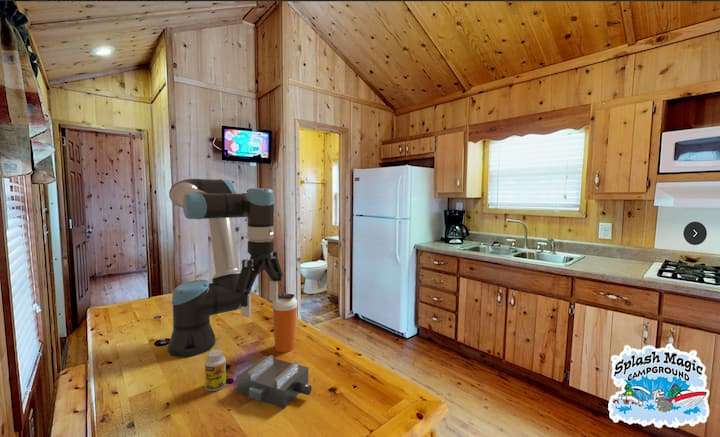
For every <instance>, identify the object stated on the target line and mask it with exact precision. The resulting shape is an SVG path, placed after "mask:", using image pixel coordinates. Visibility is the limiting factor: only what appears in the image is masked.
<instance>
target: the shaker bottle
mask: <svg viewBox="0 0 720 437" xmlns="http://www.w3.org/2000/svg"><path fill="white" fill-rule="evenodd" d="M295 296H296V295H295V294H293V293H284V292H283V291H281V292H278V301H271V308H272V315H273V316H272V319H273V320H272V321H273V336H274V337H273V338H274V350H275V351H276V352H277V353H288V352H291V351H293V350H294V349H295V347H296V346H295V345H296V329H297V328H296V327H297V325H296V324H297V308H298V300H297V298H296V297H295Z"/></svg>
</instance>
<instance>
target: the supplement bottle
mask: <svg viewBox="0 0 720 437" xmlns="http://www.w3.org/2000/svg"><path fill="white" fill-rule="evenodd" d="M226 362H227V360H226V357H225V356H224V352H223V350H222V349H213V350H210V351H209V352H208V353H207V358H206V359H205V361H204V380H205V381H204V387H205V389H206V390H207V391H209V392H215V391H219V390H221V389H222V388H224V387H225V386H226V384H227V368H226V367H227V366H226V365H227V363H226Z"/></svg>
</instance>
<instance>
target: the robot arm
mask: <svg viewBox="0 0 720 437" xmlns="http://www.w3.org/2000/svg"><path fill="white" fill-rule="evenodd" d="M168 197H169V200H170V201H171V203H173V204H174V205H175V206H177V207H179V208H181V209H182V211H183V212H182V213H183V214H184V217H185V218H186V219H188V220H205V219H208V223H209V233H210V240H211V247H212V254H213V263H214V271H215V274H214V276H213V277H212V278H211V281H212V282H211V283H210V282H209V281H208V280H206V279H196V280H191V281H188V282H187V281H186V282H183V283H182V284H180V285H178V286H176V287H175V288H174V289H173V290H172V297H171V298H172V299H171V305H172V327H173V328H172V329H173V330H172V332H171V335H170V340H169V342H168V344H167V349H168V350H167V352H168V354H169V355H171V356H173V357H178V358H179V357H181V358H186V357H192V356H196V355H201V354H203V353H205V352H208V351H209V350H210V349H211V350H212V348H213V347H215V345H216V335H215V333H214V331H213V328H212V325H211V324H210V317H211V316H214V315H218V314H223V313H229V312H232V311H237V310H241V317H245V318H251V317H252V287H253V286H254V284H255V281H256V279H257V276H258V275H259V274H260V273H261V272H262V271H265V272H266V274H267V275H268V277H269V278H270V280H269V287H268V289H269V293H268V294H269V301H270V302H273V301H278V294H279V282H281V281H282V278H283V272H282V269H281V266H280V263H279V259H278V253H277V251H275V250H274V247H275V246H274V244H275V243H274V242H275V241H274V240H273V239H274V230H275V229H274V224H275V223H274V222H275V221H274V220H275V219H274V218H275V216H274V214H275V213H274V212H275V210H274V209H275V196H274V190H273V189H271V188H255V187H253V188H252V187H250V188H248V190H247V192H241V193H238V191H237V188H236V186H235V185H234V183H233V182H232V181H230V180H228V179H227V180H226V179H209V178H206V179H204V178H186V179H182V180H180V181H179V180H178V182H175V183H174V184H173V185H172V186H171V187H170V189H169V196H168ZM233 218H247V220H246V221H247V227H246V228H247V229H246V230H247V232H246V233H247V236H246V238H247V240H248V241H247V253H248V254H250V258H249V259H245V258H244V259H243V260H242V263H241V270H240V267H239V261H238V253H237V247H236V240H235V234H234V228H233V227H234V226H233V221H232V219H233Z"/></svg>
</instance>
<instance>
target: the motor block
mask: <svg viewBox="0 0 720 437" xmlns="http://www.w3.org/2000/svg"><path fill="white" fill-rule="evenodd" d="M312 389H313V388H312V385H311V384H310V385H309V367H308V366H305V365H300V364H299V362H298V361H294V362H289V361H285V360H282V359H277V358H275V357H274V355H272V354H270V355H269V356H267V355H264V356H263V357H261V358H259V360H257V361H255V363H253V364H252V365H250V366H249V367H248V368H246V369H245V370H243V371H242V372H241V373H240V374H238V375H237V376H236V393H237V394H239V395H242V396H245V397H247V398H249V399H252V400H256V401H258V402H263V403H265V404H270V405H272V406H275V407H278V408H281V409H286V408H287V406H288V405H290V404H291V402H292V401H294V399H295V398H296V397H297V396H298V395H299V394H303V395H306V396H310V395H311V392H312V391H313V390H312Z"/></svg>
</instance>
